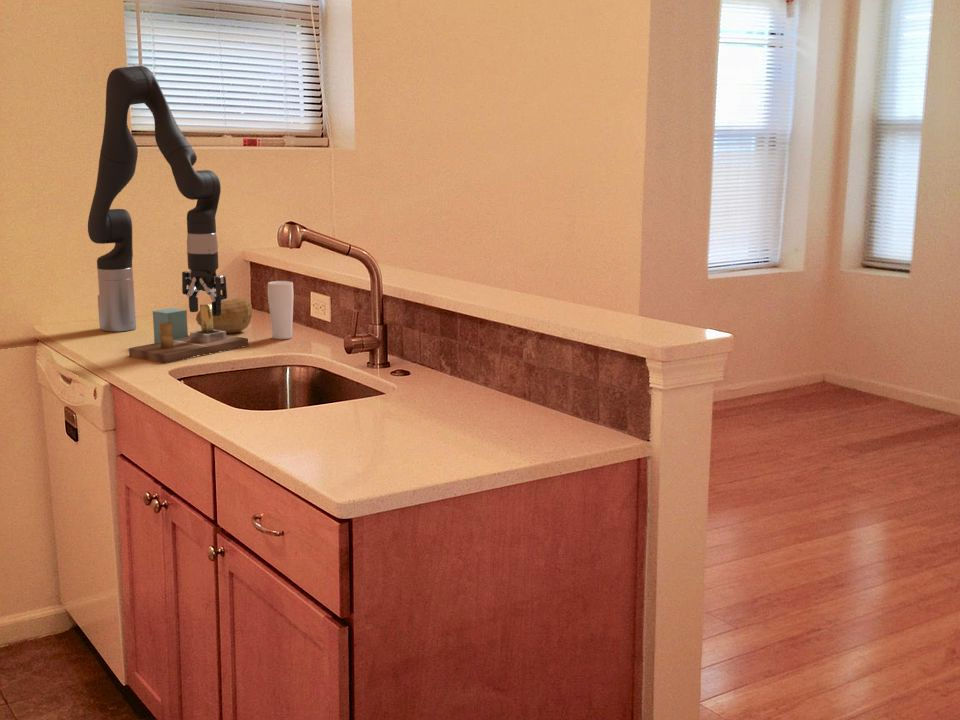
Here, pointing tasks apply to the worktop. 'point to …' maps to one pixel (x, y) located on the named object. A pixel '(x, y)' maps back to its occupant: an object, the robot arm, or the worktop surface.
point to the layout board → (186, 345)
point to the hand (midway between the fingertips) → (205, 313)
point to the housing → (174, 317)
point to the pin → (206, 318)
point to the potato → (231, 315)
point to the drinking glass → (281, 308)
